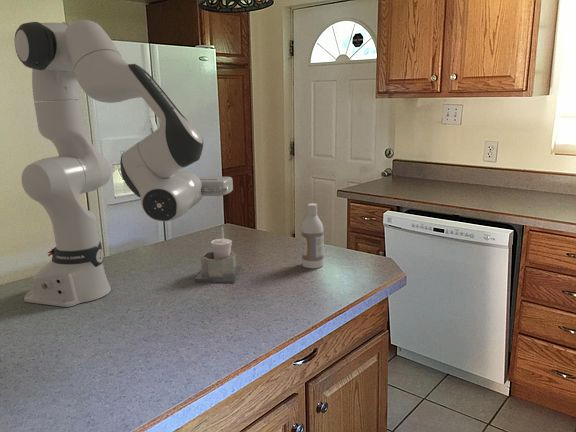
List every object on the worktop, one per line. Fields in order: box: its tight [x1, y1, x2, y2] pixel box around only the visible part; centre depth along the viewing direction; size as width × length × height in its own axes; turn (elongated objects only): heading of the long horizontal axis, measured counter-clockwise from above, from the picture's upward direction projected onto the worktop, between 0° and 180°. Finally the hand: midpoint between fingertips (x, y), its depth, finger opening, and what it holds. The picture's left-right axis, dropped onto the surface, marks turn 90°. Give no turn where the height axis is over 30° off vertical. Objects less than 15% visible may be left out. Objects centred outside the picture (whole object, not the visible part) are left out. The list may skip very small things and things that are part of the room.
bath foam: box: [301, 202, 325, 270], centre depth 156 cm, size 7×7×20 cm
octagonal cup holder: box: [194, 250, 244, 284], centre depth 151 cm, size 12×12×6 cm
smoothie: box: [210, 226, 233, 259], centre depth 150 cm, size 6×6×14 cm
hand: (199, 180), depth 129 cm, fingers open, 8 cm apart
